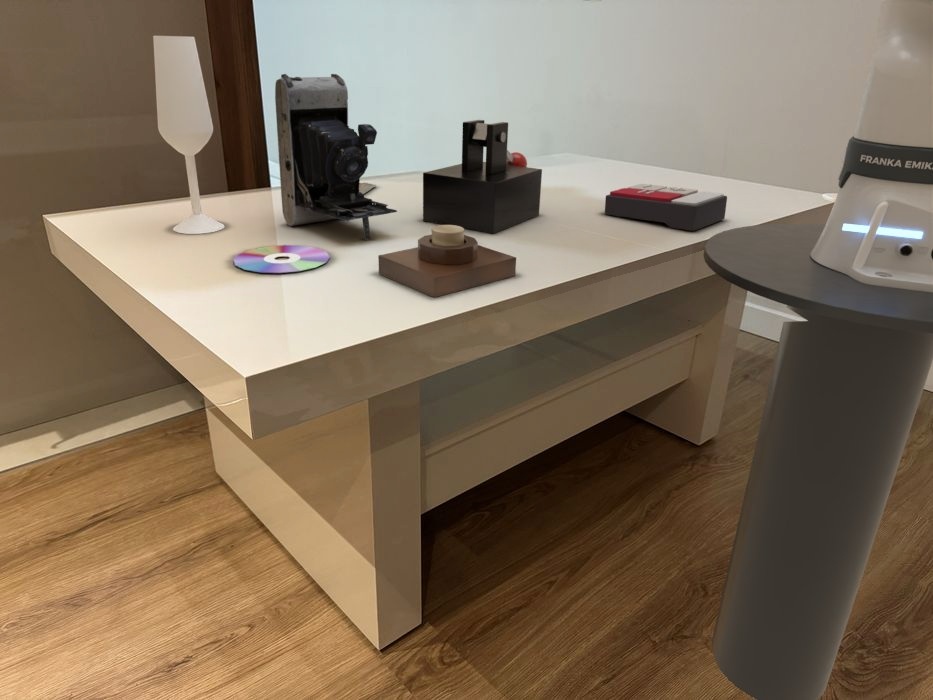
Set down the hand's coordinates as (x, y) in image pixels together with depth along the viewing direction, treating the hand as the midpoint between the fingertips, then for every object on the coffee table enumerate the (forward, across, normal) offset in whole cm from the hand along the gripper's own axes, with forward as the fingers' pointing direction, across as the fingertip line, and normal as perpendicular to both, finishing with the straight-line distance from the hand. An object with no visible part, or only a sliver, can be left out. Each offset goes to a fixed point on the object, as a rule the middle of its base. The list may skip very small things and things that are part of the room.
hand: (588, 0), depth 83 cm
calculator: (+29, +23, 0) cm, 37 cm away
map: (+29, -9, +41) cm, 51 cm away
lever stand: (+29, 0, +16) cm, 33 cm away
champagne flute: (+29, -36, +35) cm, 58 cm away
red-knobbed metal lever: (+21, +3, +18) cm, 28 cm away
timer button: (+25, -22, -1) cm, 34 cm away
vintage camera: (+29, -21, +23) cm, 43 cm away
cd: (+29, -34, +15) cm, 48 cm away
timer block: (+29, -22, -1) cm, 37 cm away
